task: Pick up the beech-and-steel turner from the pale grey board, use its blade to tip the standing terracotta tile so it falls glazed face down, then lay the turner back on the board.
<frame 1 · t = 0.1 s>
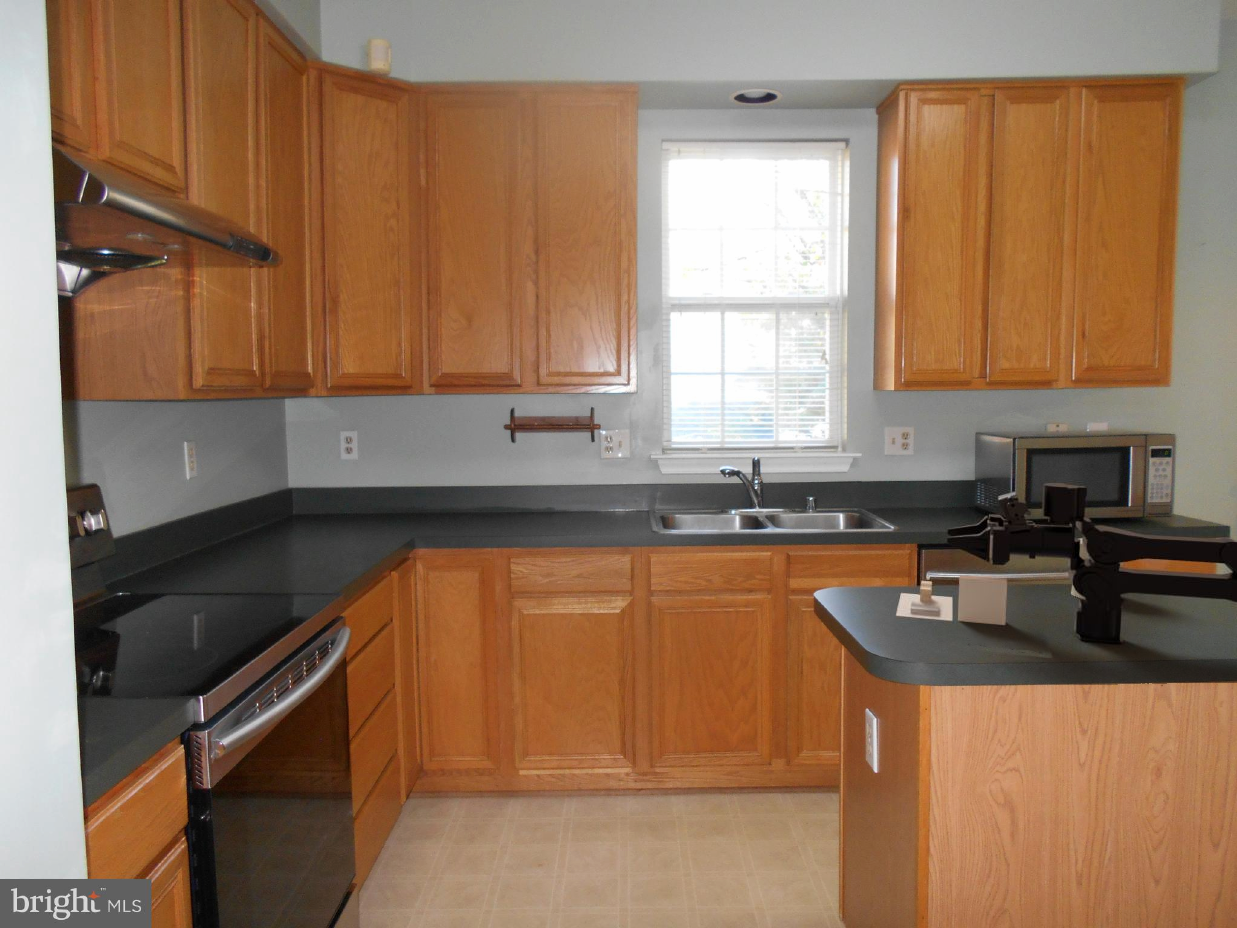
hand: (947, 535, 158), 17 cm above the countertop, tool horizontal, fingers open, 9 cm apart
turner: (925, 606, 168), point 1 cm above the countertop, touching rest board
can: (1095, 597, 179), on the countertop
tile: (981, 625, 158), on the countertop
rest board: (925, 609, 169), on the countertop
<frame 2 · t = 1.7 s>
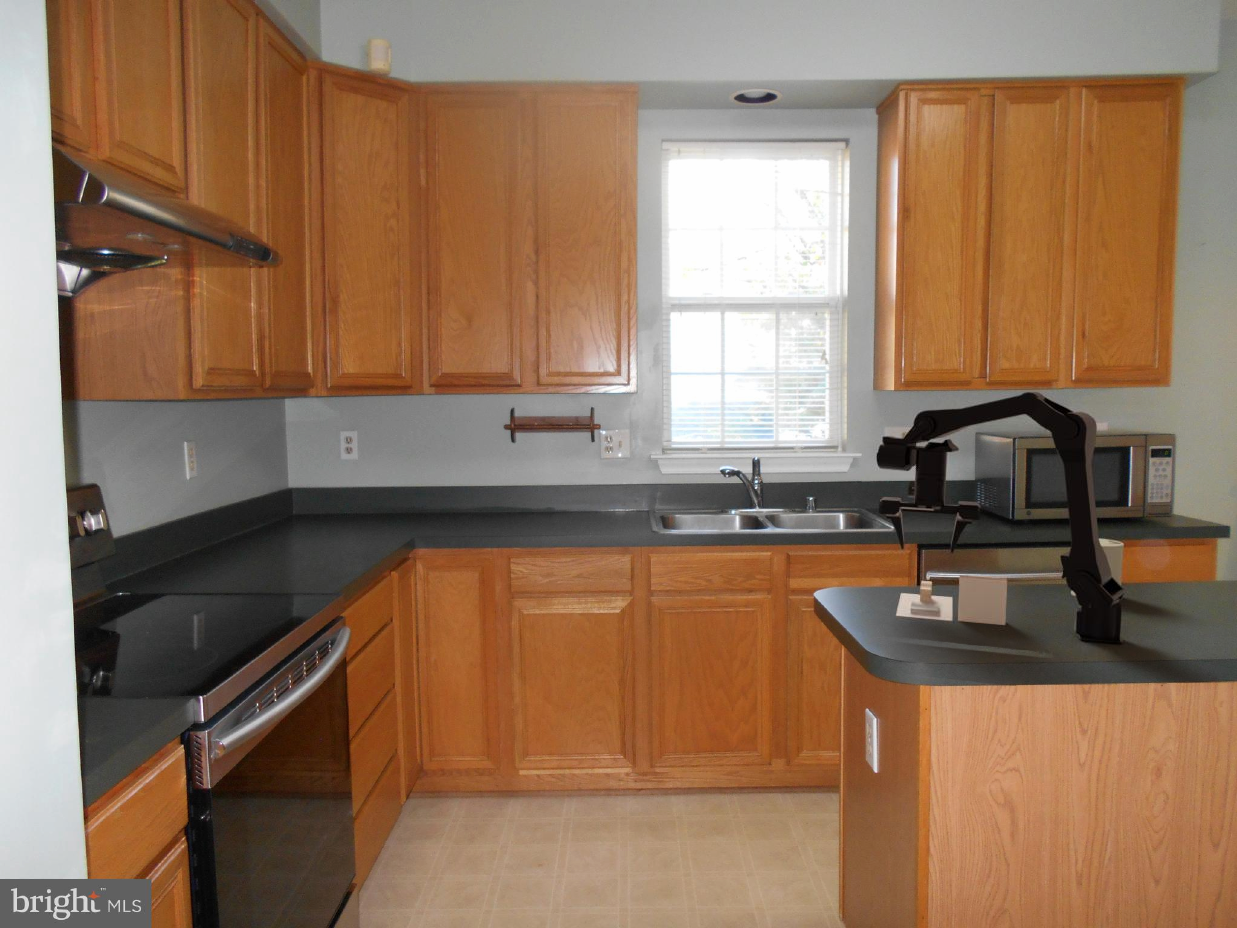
hand: (926, 550, 170), 11 cm above the countertop, tool pointing down, fingers open, 9 cm apart
nothing on the countertop moved.
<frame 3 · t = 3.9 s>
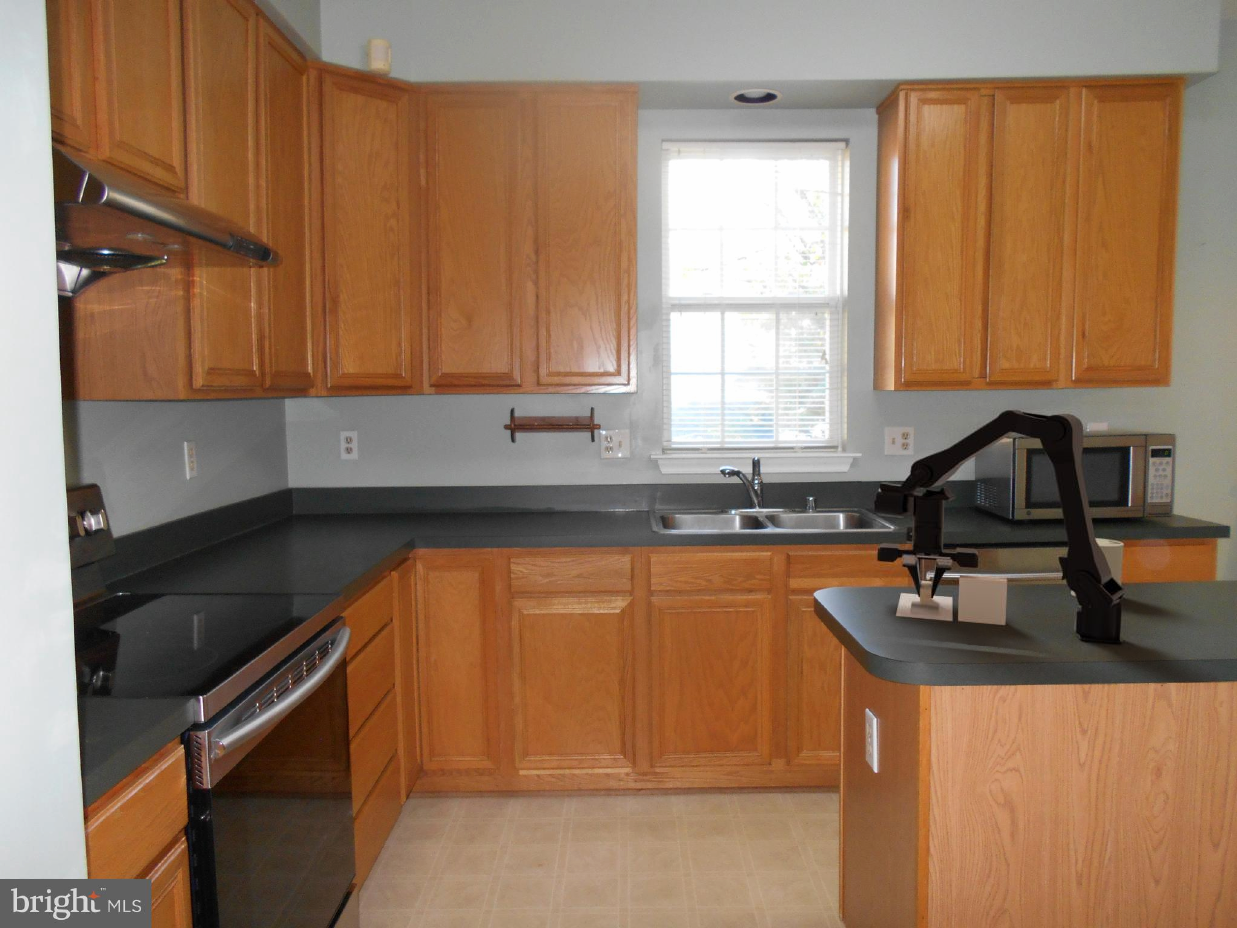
hand: (925, 597, 171), 2 cm above the countertop, tool pointing down, fingers closed on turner, 2 cm apart
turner: (925, 606, 168), point 1 cm above the countertop, touching gripper, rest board
everything else where it was.
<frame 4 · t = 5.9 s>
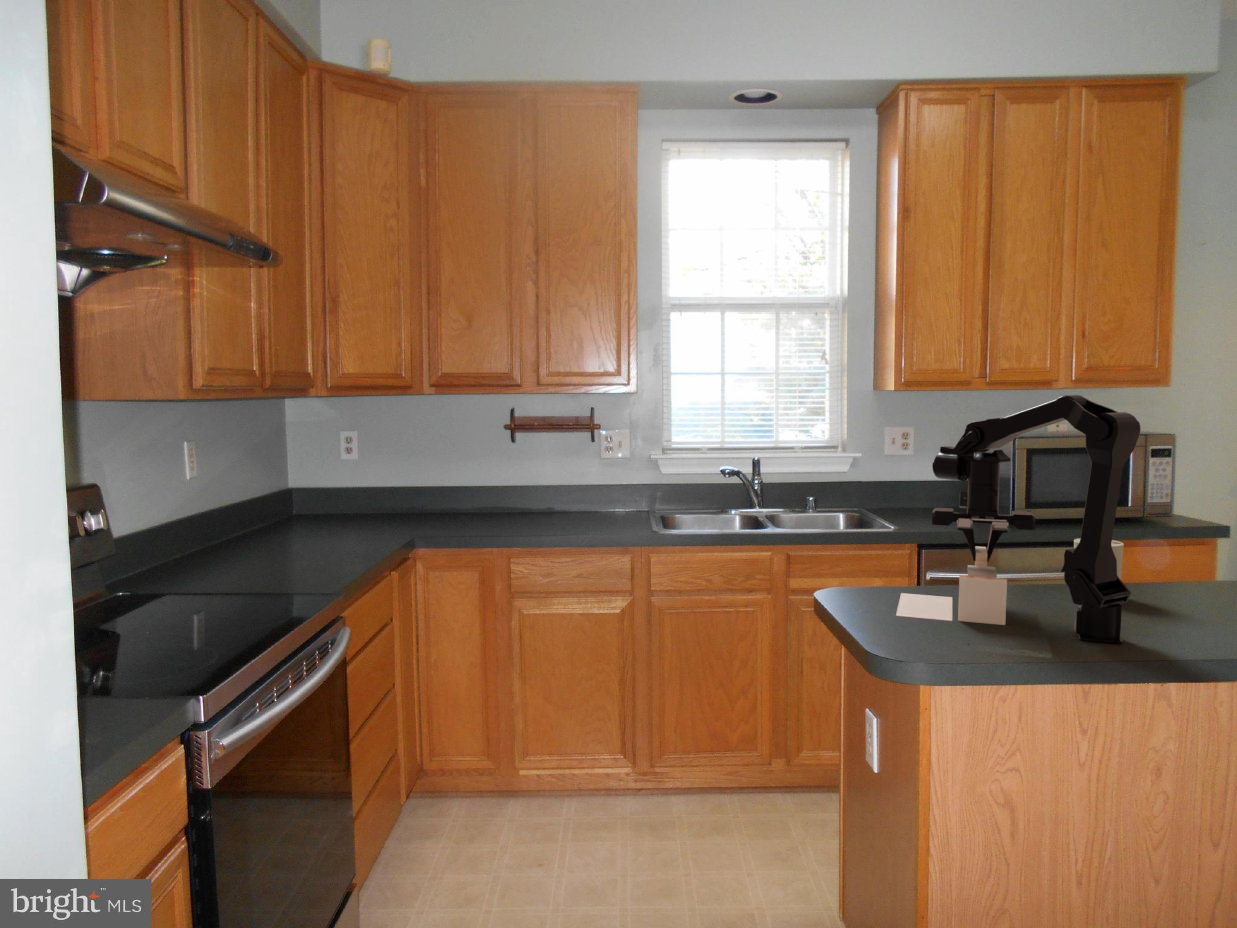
hand: (980, 561, 171), 9 cm above the countertop, tool pointing down, fingers closed on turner
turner: (981, 570, 168), point 8 cm above the countertop, touching gripper
everything else where it was.
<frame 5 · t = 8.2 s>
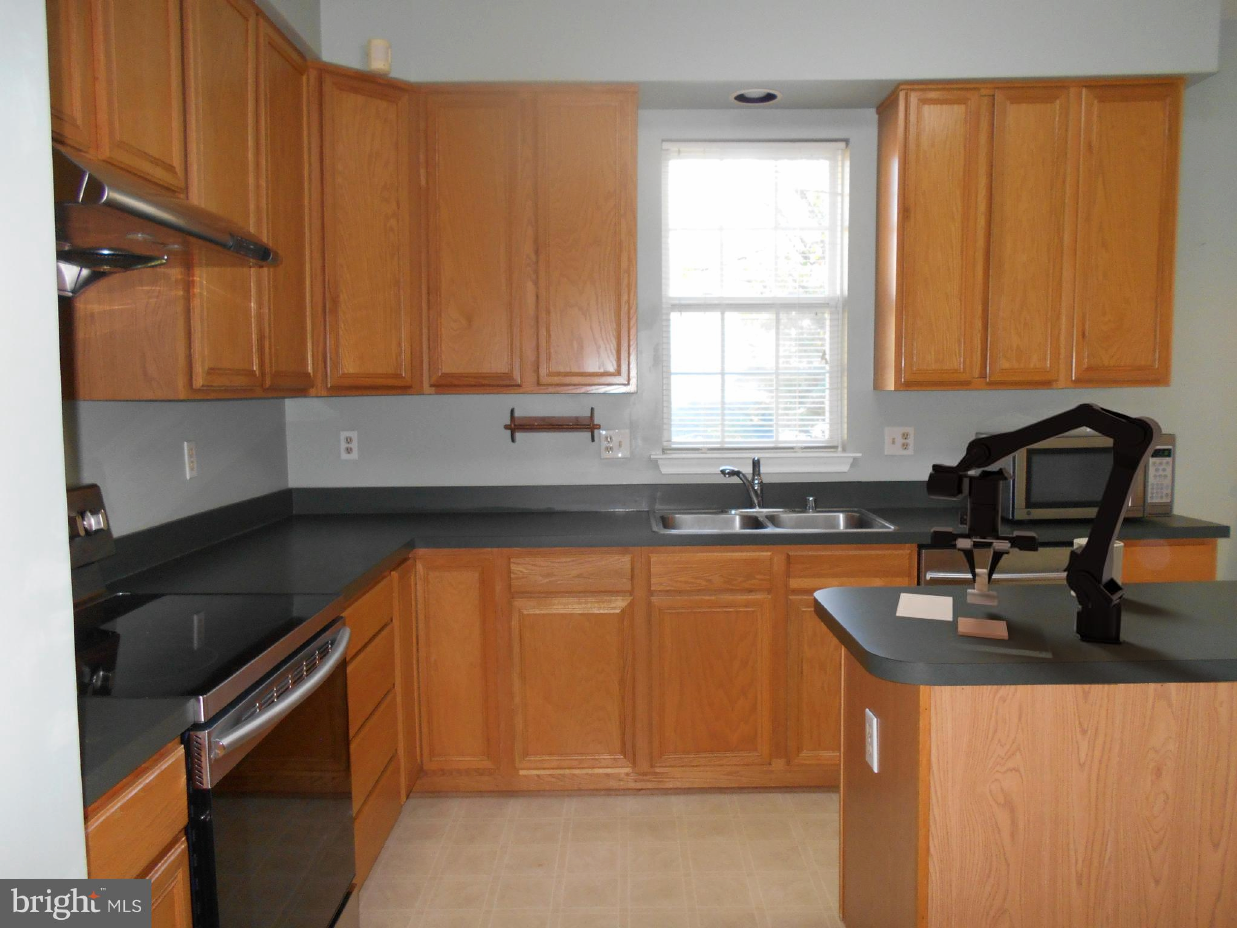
hand: (981, 583, 164), 6 cm above the countertop, tool pointing down, fingers closed on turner
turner: (981, 595, 161), point 5 cm above the countertop, touching gripper
tile: (981, 624, 157), on the countertop, tilted 90°
everything else where it was.
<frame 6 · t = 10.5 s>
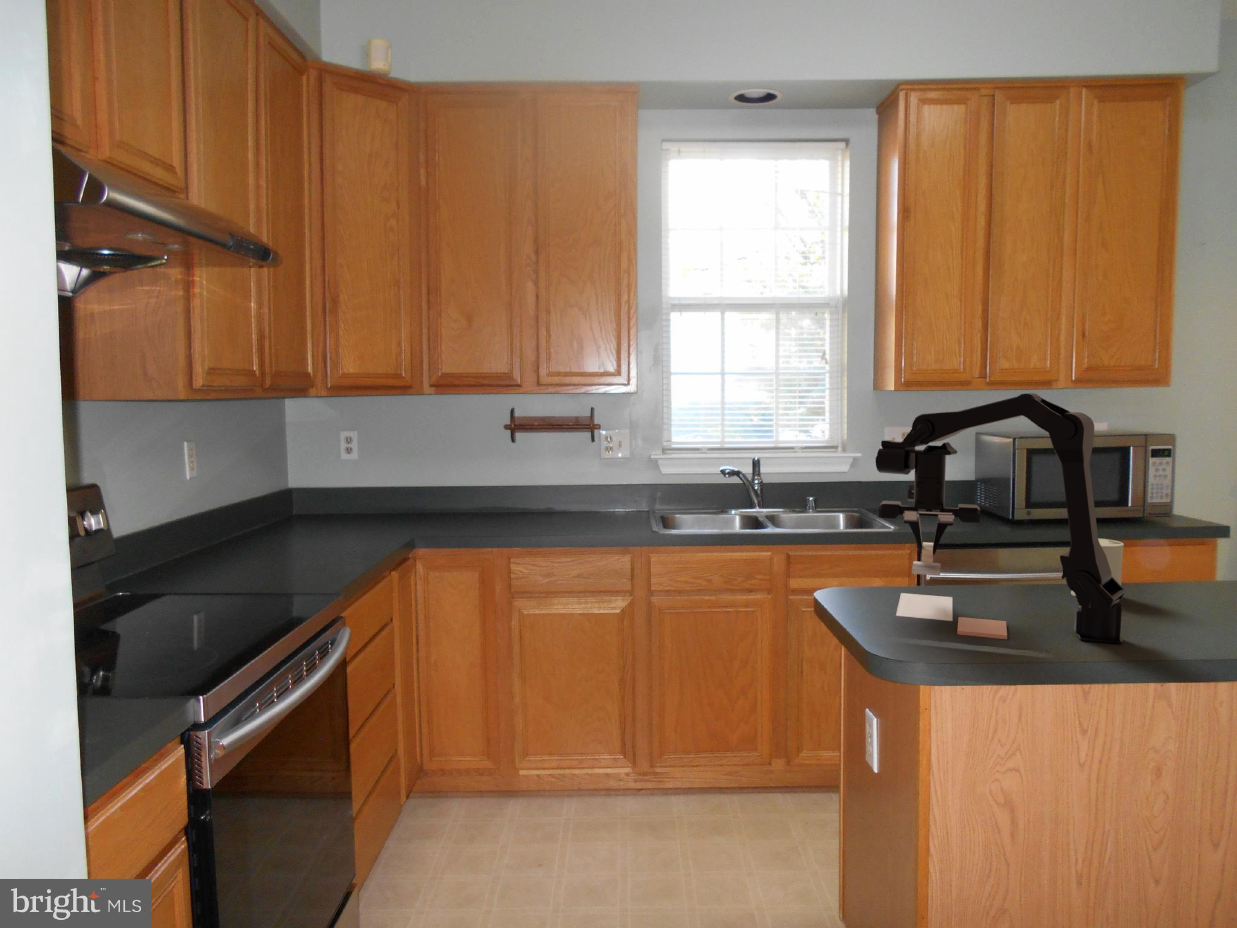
hand: (927, 554, 170), 11 cm above the countertop, tool pointing down, fingers closed on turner
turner: (926, 567, 168), point 9 cm above the countertop, touching gripper
everything else where it was.
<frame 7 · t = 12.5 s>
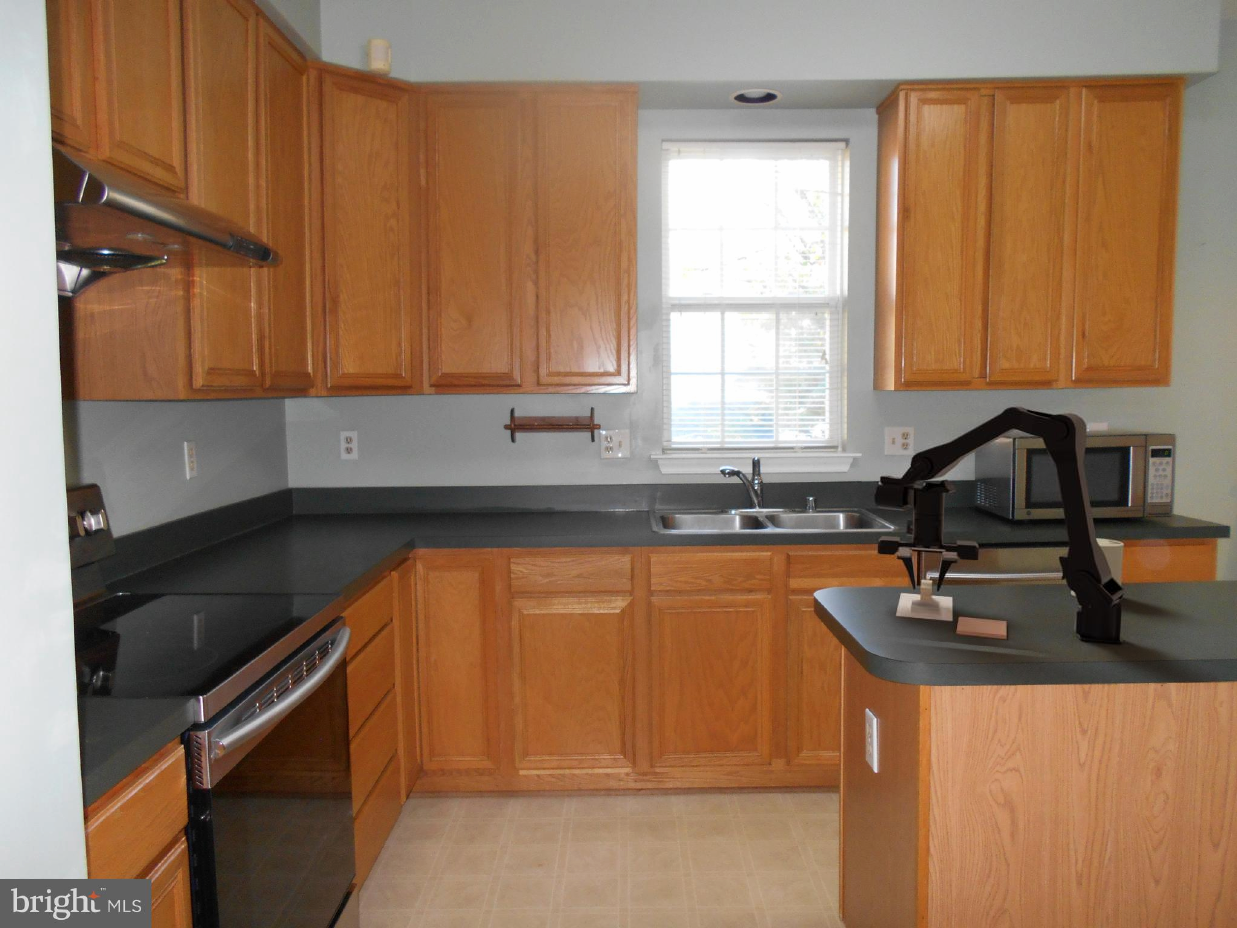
hand: (926, 590, 171), 3 cm above the countertop, tool pointing down, fingers open, 4 cm apart
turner: (925, 605, 169), point 1 cm above the countertop, touching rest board
everything else where it was.
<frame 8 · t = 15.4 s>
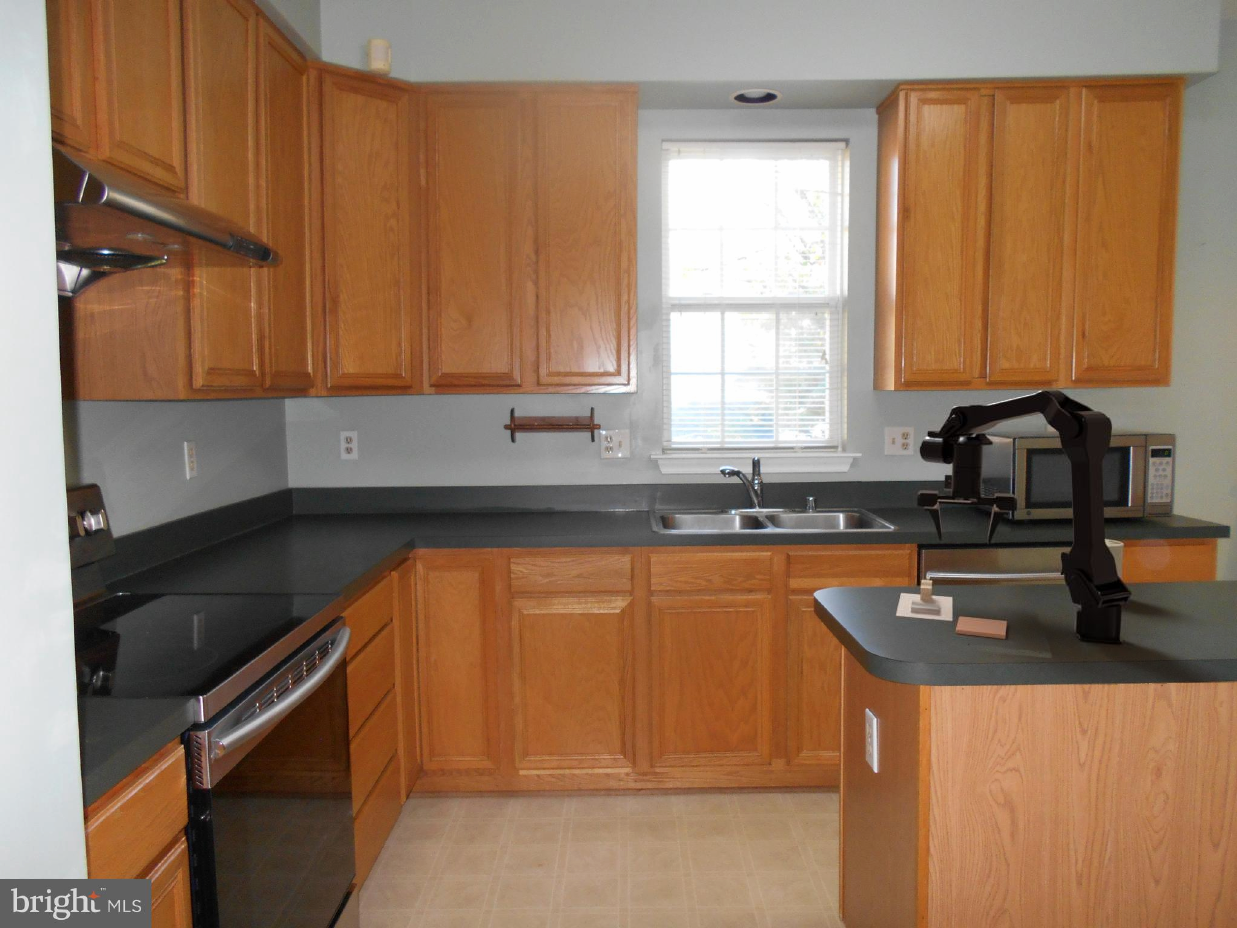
hand: (964, 541, 176), 12 cm above the countertop, tool pointing down, fingers open, 9 cm apart
nothing on the countertop moved.
at the end: tile tilted 90°; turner inside the target area on the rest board (1.0 cm from its centre), point 0.8 cm above the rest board's base; the gripper is holding nothing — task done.
